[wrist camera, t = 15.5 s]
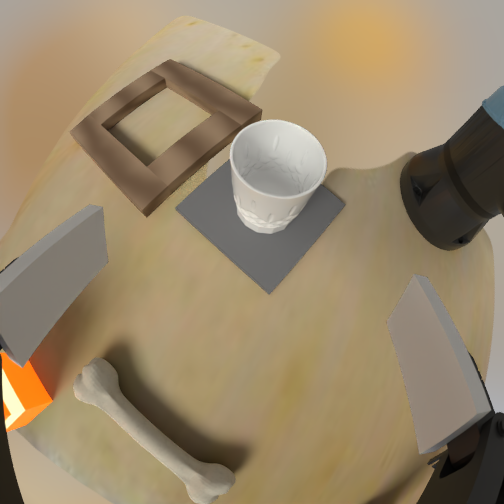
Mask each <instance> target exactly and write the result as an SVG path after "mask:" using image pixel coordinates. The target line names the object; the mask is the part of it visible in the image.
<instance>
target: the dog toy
mask: <svg viewBox="0 0 504 504" xmlns="http://www.w3.org/2000/svg"><path fill="white" fill-rule="evenodd" d="M73 388H74V392H75V396H76V398H77V399H79V400H80V401H82V402H85V403H88V404H91V405H96V406H97V407H99V408H100V409H101V410H103V411H104V412H105V413H107V414H108V415H109V416H110V417H111V418H112V419H113V420H115V421H116V422H117V423H118V424H119V425H120V426H121V427H122V428H123V429H124V430H125V431H126V432H127V433H128V434H129V435H130V436H131V437H132V438H133V439H135V440H136V441H137V442H138V443H139V444H140V445H141V446H142V447H143V448H145V449H146V450H147V451H148V452H149V453H150V454H152V455H153V456H154V457H155V458H156V459H158V460H159V461H160V462H161V463H163V464H164V465H165V466H166V467H168V468H169V469H170V470H171V471H172V472H173V473H175V474H176V475H177V476H178V477H179V478H180V479H181V480H182V481H183V482H184V483H185V484H186V488H187V492H188V494H189V496H190V498H191V500H192V501H194V502H195V503H201V504H209V503H212V502H213V501H215V500H216V499H217V498H218V495H220V494H225V493H227V492H228V490H229V489H230V488H231V487H232V486H233V485H234V483H235V475H234V474H233V472H231V471H230V470H229V469H228V468H226V467H225V466H223V465H221V464H217V463H204V462H201V461H198V460H196V459H195V458H193V457H192V456H190V455H189V454H188V453H186V452H185V451H184V450H183V449H181V448H180V447H179V446H178V445H176V444H175V443H174V442H173V441H171V440H170V439H169V438H168V437H167V436H166V435H164V434H163V433H162V432H161V431H160V430H159V429H157V428H156V427H155V426H154V425H153V424H152V423H151V422H150V421H149V420H148V419H147V418H145V417H144V416H143V415H142V414H141V413H140V412H139V411H138V410H137V409H136V408H135V407H134V406H133V405H132V404H131V403H130V402H129V401H128V400H127V399H126V398H125V397H124V395H123V394H122V392H121V390H120V388H119V384H118V374H117V372H116V370H115V369H114V368H113V367H112V366H111V365H110V364H109V363H108V362H107V361H106V360H104V359H102V358H94V359H92V360H91V361H90V362H89V364H88V365H86V366H84V367H83V371H82V374H78V376H77V377H76V378H75V380H74V384H73Z"/></svg>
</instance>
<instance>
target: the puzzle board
mask: <svg viewBox="0 0 504 504" xmlns="http://www.w3.org/2000/svg"><path fill="white" fill-rule="evenodd" d="M166 87H168V88H169V89H171V90H173V91H174V92H176V93H178V94H179V95H181V96H183V97H184V98H186V99H188V100H189V101H191V102H192V103H194V104H196V105H197V106H199V107H200V108H202V109H203V110H205V111H207V112H208V113H210V114H211V115H212V116H210V117H209V118H207V119H206V120H205V121H203V122H202V123H201V124H199V125H198V126H197V127H195V128H194V129H193V130H191V131H190V132H189V133H187V134H186V135H185V136H183V137H182V138H181V139H180V140H178V141H177V142H176V143H175V144H173V145H172V146H171V147H170V148H168V149H167V150H166V151H165V152H164V153H162V154H161V155H160V156H159V157H158V158H157V159H155V160H154V161H153V162H152V163H151V164H150V165H148V166H147V167H146V166H145V165H144V164H143V163H142V162H141V161H140V160H139V159H138V158H136V157H135V156H134V155H133V154H132V153H131V152H130V151H129V150H128V149H127V148H126V147H124V146H123V145H122V144H121V143H120V142H119V141H118V140H117V139H116V138H115V137H114V136H112V135H111V134H110V133H109V132H108V130H109V129H110V128H112V127H113V126H114V125H115V124H117V123H118V122H119V121H120V120H122V119H123V118H124V117H125V116H127V115H128V114H129V113H131V112H132V111H133V110H135V109H136V108H137V107H139V106H140V105H141V104H143V103H144V102H146V101H147V100H148V99H150V98H151V97H153V96H154V95H156V94H157V93H159V92H160V91H161V90H163V89H165V88H166ZM261 115H262V109H260V108H258V107H257V106H255V105H254V104H252V103H251V102H249V101H247V100H246V99H244V98H242V97H241V96H239V95H237V94H236V93H234V92H232V91H231V90H229V89H227V88H225V87H224V86H222V85H220V84H218V83H216V82H215V81H213V80H211V79H209V78H207V77H205V76H203V75H201V74H200V73H198V72H196V71H194V70H192V69H190V68H188V67H186V66H184V65H182V64H179V63H177V62H175V61H173V60H171V59H169V60H167V61H166V62H164V63H162V64H161V65H159V66H157V67H156V68H154V69H152V70H151V71H149V72H147V73H146V74H144V75H143V76H141V77H140V78H138V79H137V80H135V81H134V82H132V83H131V84H129V85H128V86H126V87H125V88H123V89H122V90H121V91H119V92H118V93H116V94H115V95H114V96H112V97H111V98H110V99H108V100H107V101H106V102H104V103H103V104H102V105H101V106H99V107H98V108H97V109H96V110H94V111H93V112H92V113H91V114H89V115H88V116H87V117H86V118H85V119H84V120H82V121H81V122H80V123H79V124H78V125H77V126H76V127H74V128H73V129H72V130H71V131H70V134H71V135H72V136H73V138H74V139H75V140H76V142H77V143H78V144H79V145H80V146H81V147H82V148H83V150H84V151H85V152H86V153H87V154H88V155H89V156H90V157H91V159H92V160H93V161H94V162H95V163H96V164H97V165H98V166H99V167H100V169H101V170H102V171H103V172H104V173H105V174H106V175H107V176H108V177H109V178H110V180H111V181H112V182H113V183H114V184H115V185H116V186H117V187H118V188H119V189H120V190H121V191H122V192H123V193H124V194H125V196H126V197H127V198H128V199H129V200H130V201H131V202H132V203H133V204H134V205H135V206H136V207H137V208H138V209H139V210H140V211H141V212H142V213H143V214H144V215H145V216H146V217H148V216H149V215H150V214H151V213H152V212H153V211H154V210H155V209H156V208H157V207H158V206H159V205H160V204H161V203H162V202H163V201H164V200H165V199H166V198H167V197H168V196H170V195H171V194H172V193H173V192H174V191H175V190H176V189H177V188H178V187H179V186H180V185H182V184H183V183H184V182H185V181H186V180H187V179H188V178H189V177H190V176H192V175H193V174H194V173H195V172H196V171H197V170H198V169H200V168H201V167H202V166H203V165H204V164H205V163H207V162H208V161H209V160H210V159H211V158H212V157H214V156H215V155H216V154H217V153H219V152H220V151H221V150H222V149H224V147H226V146H227V145H228V144H230V143H231V142H232V141H233V140H234V138H235V137H236V136H237V134H238V133H239V132H240V131H241V130H242V129H244V128H245V127H247V126H248V125H250V124H253V123H255V122H258V121H260V120H261Z"/></svg>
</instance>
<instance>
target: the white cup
mask: <svg viewBox="0 0 504 504" xmlns="http://www.w3.org/2000/svg"><path fill="white" fill-rule="evenodd" d="M230 164H231V175H232V186H233V193H234V200H235V202H236V208H237V215H238V216H239V218H240V219H241V221H242V222H243V223H244V225H245V226H247V227H248V228H250V229H252V230H254V231H255V232H257V233H266V234H273V233H276V232H279V231H281V230H284V229H285V228H286V227H287V226H288V225H289V224H290V223H291V222H292V221H293V220H294V218H296V216H297V215H298V214H299V213H300V211H301V210H302V209H303V208H304V206H305V205H306V204H307V202H308V201H309V199H310V198H311V196H312V195H313V194H314V192H315V191H316V189H317V188H318V186H319V185H320V184H321V182H322V181H323V179H324V177H325V174H326V171H327V158H326V154H325V151H324V149H323V147H322V145H321V144H320V142H319V141H318V140H317V139H316V137H314V135H312V134H311V133H310V132H309V131H308V130H306V129H305V128H303V127H301V126H299V125H297V124H294V123H291V122H288V121H283V120H263V121H258V122H255V123H253V124H250V125H248V126H247V127H245V128H244V129H242V130H241V131H240V132H239V133H238V134H237V136H236V137H235V138H234V140H233V142H232V145H231V148H230Z"/></svg>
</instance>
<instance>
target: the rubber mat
mask: <svg viewBox="0 0 504 504" xmlns="http://www.w3.org/2000/svg"><path fill="white" fill-rule="evenodd" d="M344 206H345V204H344V203H343V202H342V201H340V200H339V199H338V198H337V197H336V196H335V195H333V194H332V193H331V192H330V191H329V190H328V189H326V188H325V187H324V186H323V185H322V184H320V185H319V186H318V188H317V189H316V191H315V192H314V194H313V195H312V196H311V198H310V199H309V201H308V202H307V204H306V205H305V206H304V208H303V209H302V210H301V211H300V213H299V214H298V215H297V216H296V218H294V220H293V221H292V222H291V223H290V224H289V225H288V226H287V227H286V228H285V229H284V230H281V231H279V232H276V233H273V234H266V233H257V232H255V231H254V230H252V229H250V228H248V227H247V226H245V225H244V223H243V222H242V221H241V219H240V218H239V216H238V215H237V208H236V202H235V200H234V193H233V186H232V175H231V164H230V159H229V160H228V161H227V162H225V163H224V164H223V165H222V166H221V167H220V168H219V169H217V170H216V171H215V172H214V173H213V174H212V175H210V176H209V177H208V178H207V179H206V180H205V181H204V182H203V183H201V184H200V185H199V186H198V187H197V188H196V189H195V190H194V191H193V192H192V193H191V194H189V195H188V196H187V197H186V198H185V199H184V200H183V201H182V202H181V203H180V204H179V205H178V206H177V207H176V208H175V209H176V210H177V211H178V212H179V213H180V214H181V215H182V216H183V217H184V218H185V219H186V220H187V221H188V222H190V223H191V224H192V225H193V226H194V227H195V228H196V229H197V230H198V231H199V232H200V233H201V234H203V235H204V236H205V237H206V238H207V239H208V240H209V241H210V242H211V243H212V244H213V245H215V246H216V247H217V248H218V249H219V250H220V251H221V252H222V253H223V254H224V255H226V256H227V257H228V258H229V259H230V260H231V261H232V262H233V263H234V264H235V265H237V266H238V267H239V268H240V269H241V270H242V271H243V272H244V273H245V274H247V275H248V276H249V277H250V278H251V279H252V280H253V281H254V282H256V283H257V284H258V285H259V286H260V287H261V288H262V289H263V290H264V291H266V292H267V293H268V294H270V293H271V292H272V291H273V290H274V289H275V288H276V286H277V285H278V284H279V283H280V282H281V281H282V280H283V278H284V277H285V276H286V275H287V274H288V273H289V272H290V270H291V269H292V268H293V267H294V266H295V265H296V263H297V262H298V261H299V260H300V259H301V258H302V256H303V255H304V254H305V253H306V252H307V251H308V249H309V248H310V247H311V246H312V245H313V243H314V242H315V241H316V240H317V239H318V237H319V236H320V235H321V234H322V233H323V232H324V230H325V229H326V228H327V227H328V225H329V224H330V223H331V222H332V221H333V219H334V218H335V217H336V216H337V214H338V213H339V212H340V211H341V210H342V208H343V207H344Z"/></svg>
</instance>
